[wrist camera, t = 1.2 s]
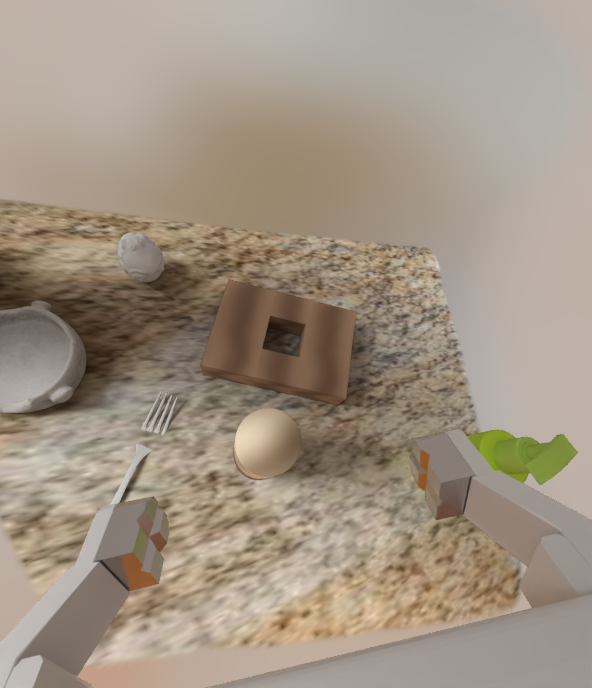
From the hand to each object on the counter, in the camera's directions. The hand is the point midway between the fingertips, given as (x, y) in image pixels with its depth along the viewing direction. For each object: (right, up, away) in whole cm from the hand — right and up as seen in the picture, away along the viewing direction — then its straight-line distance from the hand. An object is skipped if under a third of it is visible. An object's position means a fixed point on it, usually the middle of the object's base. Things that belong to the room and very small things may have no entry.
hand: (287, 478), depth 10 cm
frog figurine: (-23, +15, +41) cm, 49 cm away
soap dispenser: (+20, -14, +37) cm, 44 cm away
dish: (-34, +1, +32) cm, 47 cm away
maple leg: (-5, -10, +33) cm, 35 cm away
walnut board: (-2, +4, +40) cm, 40 cm away
